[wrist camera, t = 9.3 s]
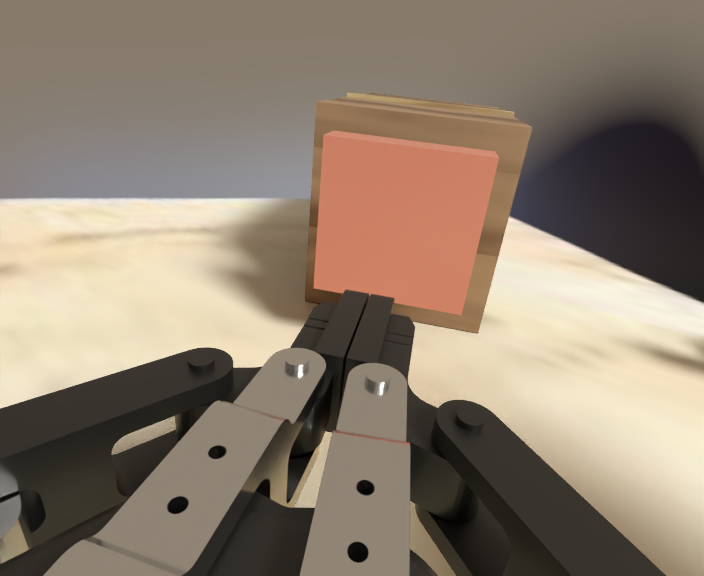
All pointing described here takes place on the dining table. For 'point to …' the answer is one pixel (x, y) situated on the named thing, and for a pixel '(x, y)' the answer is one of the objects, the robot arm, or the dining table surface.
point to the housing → (439, 128)
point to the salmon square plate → (401, 218)
